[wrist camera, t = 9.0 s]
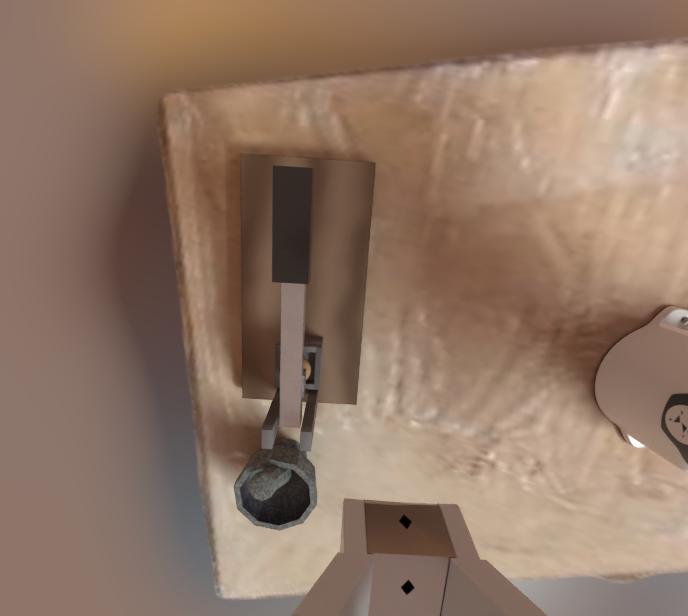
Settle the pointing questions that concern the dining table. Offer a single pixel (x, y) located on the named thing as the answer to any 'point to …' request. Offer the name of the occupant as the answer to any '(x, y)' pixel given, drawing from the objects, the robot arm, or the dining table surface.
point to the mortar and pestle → (277, 486)
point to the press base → (321, 293)
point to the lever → (292, 278)
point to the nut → (307, 368)
